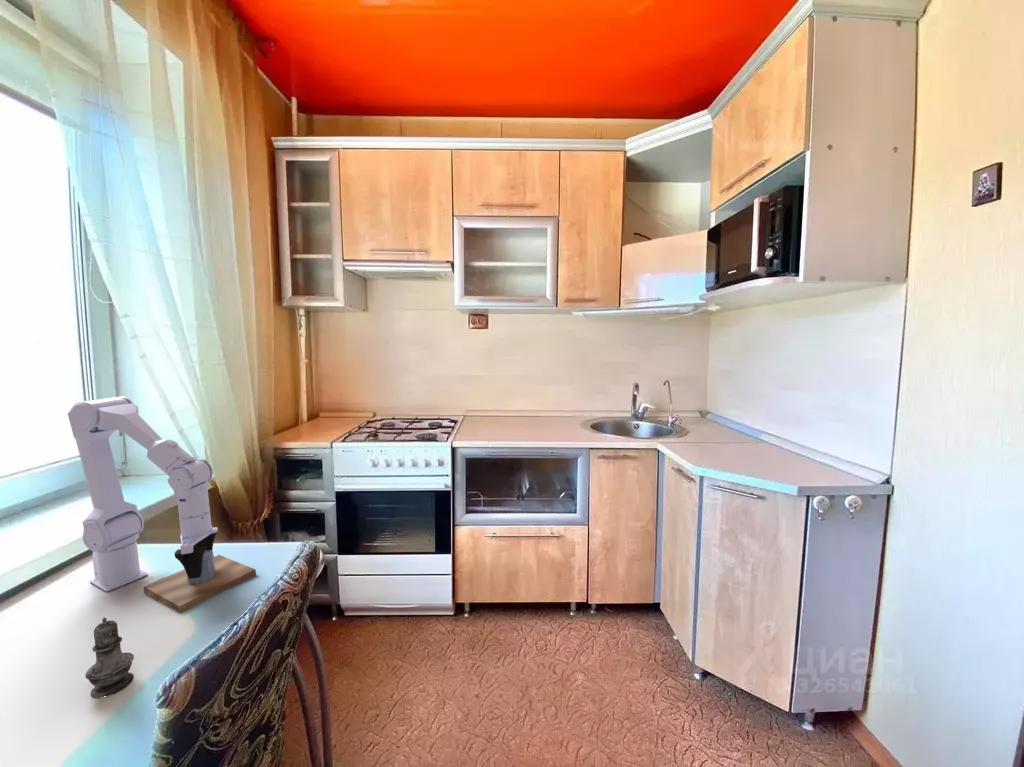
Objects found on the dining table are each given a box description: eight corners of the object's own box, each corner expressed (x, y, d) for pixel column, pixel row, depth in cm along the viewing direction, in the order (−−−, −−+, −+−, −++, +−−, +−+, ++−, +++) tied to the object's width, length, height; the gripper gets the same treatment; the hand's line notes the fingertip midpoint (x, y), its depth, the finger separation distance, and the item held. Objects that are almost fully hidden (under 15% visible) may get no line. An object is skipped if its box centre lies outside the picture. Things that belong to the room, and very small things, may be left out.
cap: (184, 585, 97) (182, 562, 96) (192, 574, 102) (189, 552, 101) (211, 580, 99) (209, 558, 98) (217, 569, 104) (215, 548, 103)
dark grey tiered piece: (106, 702, 67) (97, 631, 66) (78, 697, 69) (68, 627, 67) (145, 674, 73) (137, 608, 72) (118, 669, 74) (110, 604, 73)
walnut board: (144, 592, 97) (142, 574, 97) (219, 560, 111) (217, 543, 111) (180, 612, 90) (177, 592, 89) (256, 575, 104) (254, 557, 103)
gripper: (205, 522, 93) (211, 581, 95) (223, 499, 107) (228, 551, 108) (166, 528, 91) (173, 588, 92) (189, 504, 104) (194, 557, 106)
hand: (200, 569), depth 100 cm, fingers open, 7 cm apart
